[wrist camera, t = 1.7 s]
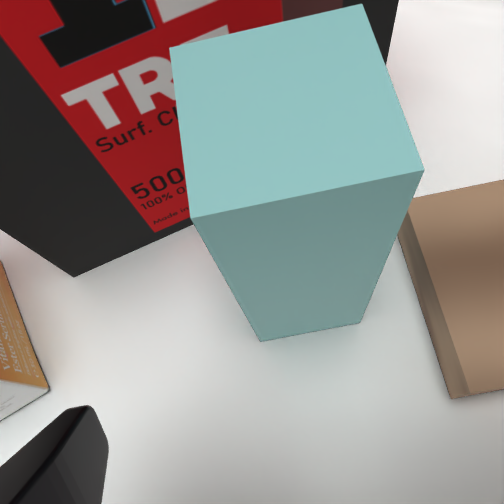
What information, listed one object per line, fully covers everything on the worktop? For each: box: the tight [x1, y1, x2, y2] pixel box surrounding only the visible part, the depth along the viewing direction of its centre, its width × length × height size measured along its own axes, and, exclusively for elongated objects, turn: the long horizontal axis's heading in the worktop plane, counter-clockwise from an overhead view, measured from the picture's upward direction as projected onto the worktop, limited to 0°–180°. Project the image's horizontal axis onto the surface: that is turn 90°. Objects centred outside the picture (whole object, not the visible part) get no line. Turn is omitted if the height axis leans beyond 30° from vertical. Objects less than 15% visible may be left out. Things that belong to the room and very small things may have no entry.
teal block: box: [169, 4, 424, 342], centre depth 15 cm, size 4×4×12 cm
